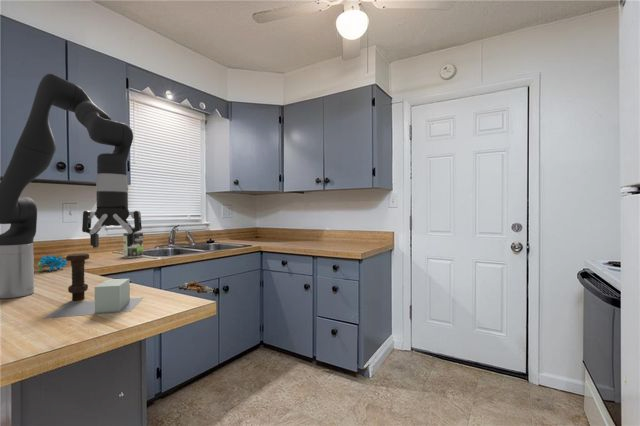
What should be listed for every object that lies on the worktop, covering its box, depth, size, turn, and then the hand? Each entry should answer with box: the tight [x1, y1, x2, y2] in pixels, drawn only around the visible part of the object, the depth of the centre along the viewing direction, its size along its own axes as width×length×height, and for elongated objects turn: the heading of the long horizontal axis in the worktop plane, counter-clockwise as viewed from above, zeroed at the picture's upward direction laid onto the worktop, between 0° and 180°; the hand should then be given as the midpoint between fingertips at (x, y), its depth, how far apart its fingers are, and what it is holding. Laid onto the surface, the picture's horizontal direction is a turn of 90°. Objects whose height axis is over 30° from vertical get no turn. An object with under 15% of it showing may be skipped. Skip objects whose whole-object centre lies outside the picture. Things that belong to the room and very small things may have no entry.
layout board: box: [43, 297, 144, 319], centre depth 90 cm, size 20×14×1 cm
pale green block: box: [94, 278, 131, 313], centre depth 91 cm, size 6×9×7 cm, turn 16°
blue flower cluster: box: [36, 254, 68, 273], centre depth 146 cm, size 11×6×10 cm
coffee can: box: [122, 232, 144, 259], centre depth 188 cm, size 10×10×14 cm
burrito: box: [178, 280, 214, 294], centre depth 112 cm, size 7×12×4 cm, turn 102°
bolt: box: [65, 252, 90, 302], centre depth 97 cm, size 6×5×15 cm
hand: (113, 246), depth 90 cm, fingers open, 8 cm apart
